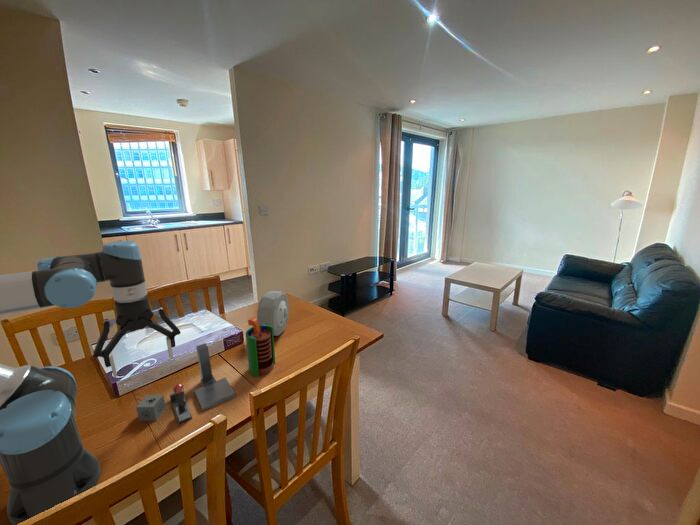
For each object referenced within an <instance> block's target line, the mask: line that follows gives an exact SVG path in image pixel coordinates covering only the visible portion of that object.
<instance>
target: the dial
mask: <svg viewBox="0 0 700 525" xmlns="http://www.w3.org/2000/svg"><path fill="white" fill-rule="evenodd" d="M289 314H290V305H289V298H288V296H287V295H286V294H285V292H284V291H281V290H279V291H278V290H268V291H266V292H265V293H264V294H263V295H262V296H261V298H260V300H259V304H258V307H257V310H256V319H257V320H258V322H259V325H270V326H272V327H273V335H274V337H275V336H276V337H279V336H280V335H281V334H282V333H283V332H284V330H285V328H286V327H287V323H288V320H289Z"/></svg>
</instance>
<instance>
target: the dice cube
mask: <svg viewBox="0 0 700 525" xmlns="http://www.w3.org/2000/svg"><path fill="white" fill-rule="evenodd" d="M135 409H136V413H137V416H138V421H140V422H146V421H147V422H149V421H151V422H152V421H153V422H154V421H155V422H156V421H157V420H158V419H159V418H160V417H161V415H162V414H163V413H164V411H165V410H166V409H167V406H166V401H165V397H164V394H147V395H145V397H144V398H143V399H142V400H141V401H140V402H139V403H138V404H137V405H136V407H135Z"/></svg>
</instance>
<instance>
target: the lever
mask: <svg viewBox="0 0 700 525" xmlns="http://www.w3.org/2000/svg"><path fill="white" fill-rule="evenodd" d="M184 389H185V386H184V384H182V383H176V384H175V385H174V386H173V388H172V391H173V392H172V393H175V397H176V402H177V407H176V413H177V416H178V419H179V422H180V421H182V420H185V419H187V418H189V417H191V416H192V415H191V416H190V414H191V411H190V408H189V406H188V402H185V401H186V397H185V393H184Z"/></svg>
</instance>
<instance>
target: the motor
mask: <svg viewBox="0 0 700 525" xmlns="http://www.w3.org/2000/svg"><path fill="white" fill-rule="evenodd" d="M247 323H248V326H251V327H249V328H248V329H247V330H246V331H245V340H246V351H247V354H246V355H247V363H248V373H249V374H250V375H251V376H252V377H257V378H258V377H259V376H261V375H262V376H263V375H267V374H269V373H271V372H272V371H273V370H274V367H275V366H274V364H276V356H275V355H276V354H275V353H276V352H275V340H274V339H275V338H274V337H275V336H274V335H273V327H272V326H270V325H259V322H258V320H257V317H256V318H255V317H251V318H249V319H248V320H247Z"/></svg>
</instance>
